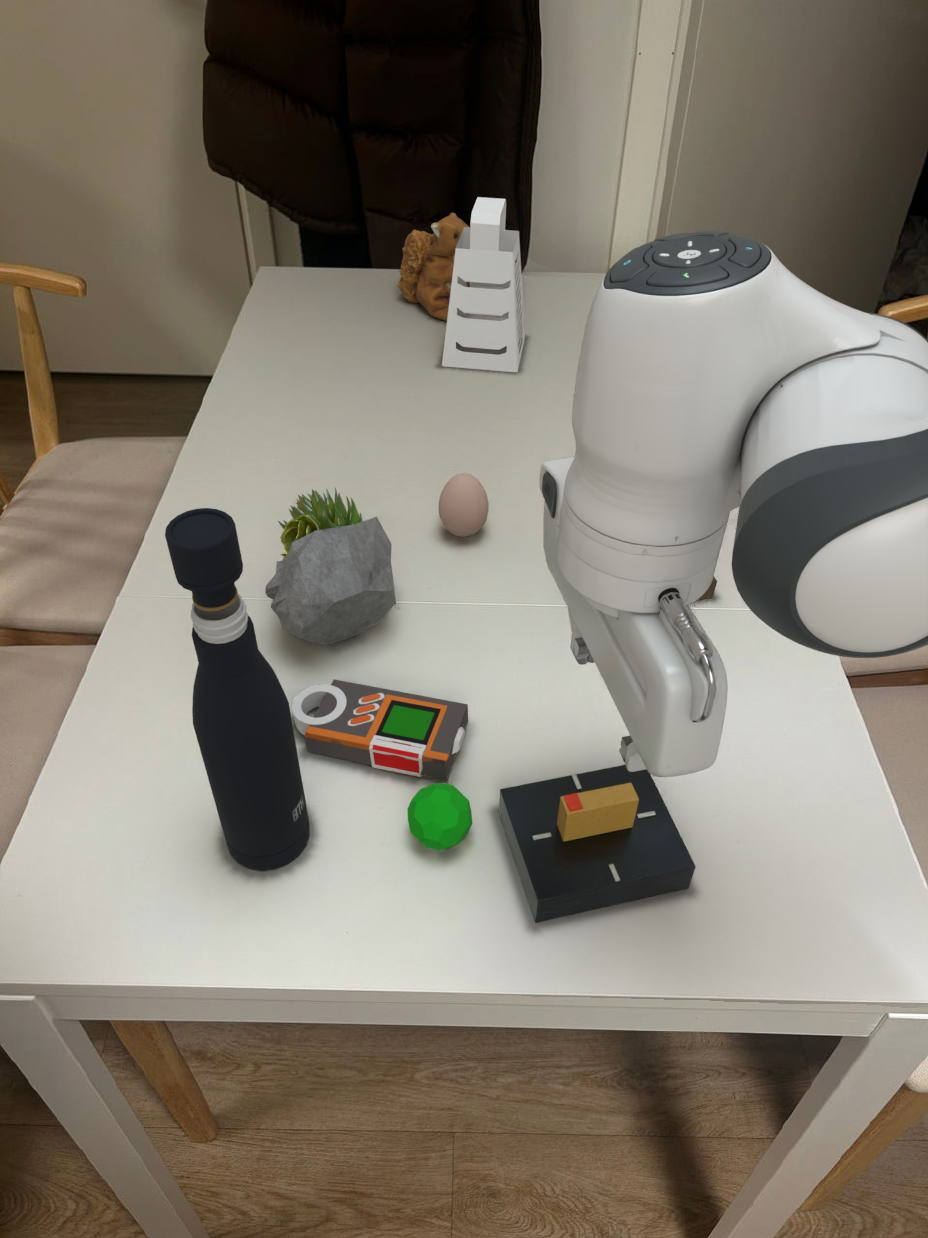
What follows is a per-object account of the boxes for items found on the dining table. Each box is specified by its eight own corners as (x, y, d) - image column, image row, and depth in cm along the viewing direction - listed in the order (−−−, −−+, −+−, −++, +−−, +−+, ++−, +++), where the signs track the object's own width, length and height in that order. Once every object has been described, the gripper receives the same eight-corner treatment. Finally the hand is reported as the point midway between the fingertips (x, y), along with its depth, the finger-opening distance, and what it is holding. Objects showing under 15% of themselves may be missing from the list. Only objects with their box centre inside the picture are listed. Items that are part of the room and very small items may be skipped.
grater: (524, 337, 135) (533, 193, 122) (517, 372, 128) (526, 222, 114) (453, 332, 136) (454, 188, 123) (441, 366, 129) (441, 217, 115)
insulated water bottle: (222, 812, 74) (137, 504, 54) (302, 793, 76) (249, 486, 55) (232, 881, 70) (144, 572, 49) (317, 859, 71) (265, 551, 51)
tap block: (638, 783, 77) (644, 759, 75) (688, 889, 70) (696, 865, 68) (498, 811, 75) (499, 787, 72) (535, 923, 68) (538, 900, 65)
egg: (443, 550, 99) (443, 493, 94) (434, 520, 103) (434, 464, 98) (492, 545, 100) (494, 487, 95) (481, 515, 104) (483, 459, 99)
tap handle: (625, 810, 71) (631, 780, 69) (632, 827, 70) (639, 797, 68) (556, 824, 70) (560, 794, 68) (563, 842, 69) (567, 812, 66)
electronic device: (307, 671, 82) (471, 702, 79) (312, 694, 84) (472, 725, 81) (275, 727, 78) (448, 762, 74) (281, 750, 80) (450, 785, 76)
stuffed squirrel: (459, 326, 138) (460, 235, 129) (380, 303, 143) (376, 215, 134) (493, 302, 144) (496, 214, 135) (416, 281, 149) (415, 195, 140)
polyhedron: (407, 809, 75) (406, 772, 71) (469, 806, 75) (470, 769, 72) (409, 863, 71) (407, 827, 68) (473, 860, 71) (475, 823, 68)
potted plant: (261, 655, 82) (209, 528, 89) (359, 668, 93) (306, 554, 99) (349, 570, 78) (287, 442, 84) (442, 593, 88) (380, 478, 94)
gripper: (780, 659, 45) (722, 827, 54) (626, 437, 60) (601, 599, 69) (658, 681, 44) (620, 848, 53) (531, 449, 58) (519, 612, 68)
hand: (609, 706), depth 61 cm, fingers open, 8 cm apart
